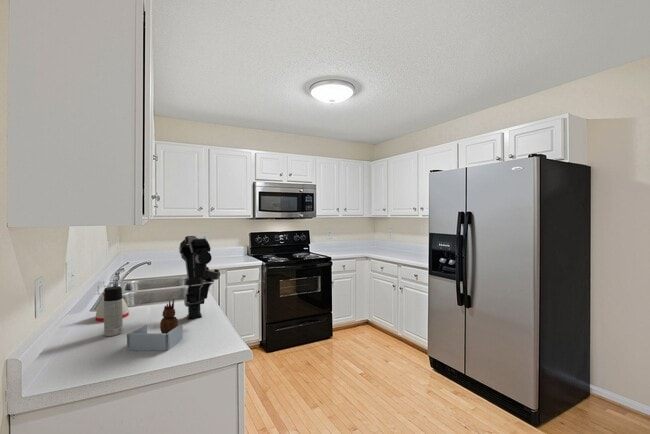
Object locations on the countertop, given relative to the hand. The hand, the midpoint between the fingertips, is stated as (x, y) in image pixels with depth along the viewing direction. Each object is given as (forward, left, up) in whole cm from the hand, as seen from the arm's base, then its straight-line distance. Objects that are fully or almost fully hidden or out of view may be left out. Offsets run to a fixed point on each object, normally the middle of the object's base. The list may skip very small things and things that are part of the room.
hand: (202, 299), depth 146 cm
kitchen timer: (-37, -39, -13) cm, 55 cm away
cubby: (+12, -18, -12) cm, 25 cm away
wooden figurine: (+4, -14, -12) cm, 19 cm away
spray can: (-9, -35, -12) cm, 38 cm away
